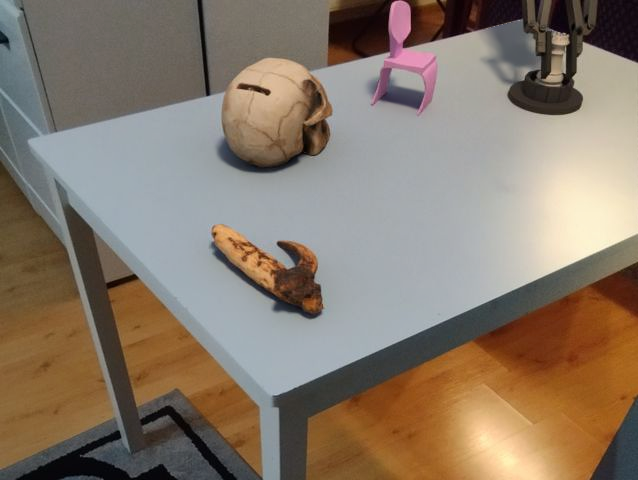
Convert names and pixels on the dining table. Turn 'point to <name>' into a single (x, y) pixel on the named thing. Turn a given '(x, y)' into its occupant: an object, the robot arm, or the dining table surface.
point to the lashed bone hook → (274, 268)
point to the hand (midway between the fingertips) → (558, 75)
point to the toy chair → (406, 55)
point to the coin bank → (275, 113)
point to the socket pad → (544, 106)
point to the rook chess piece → (555, 61)
